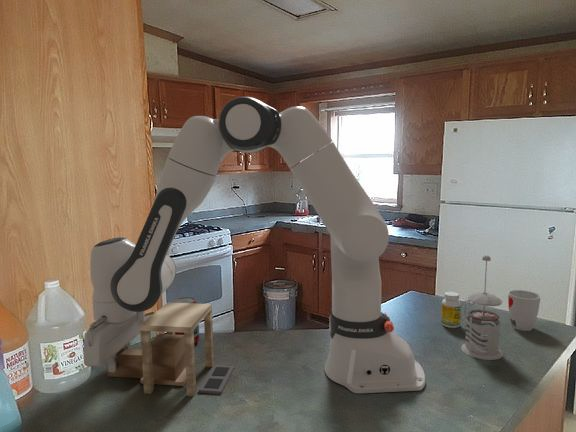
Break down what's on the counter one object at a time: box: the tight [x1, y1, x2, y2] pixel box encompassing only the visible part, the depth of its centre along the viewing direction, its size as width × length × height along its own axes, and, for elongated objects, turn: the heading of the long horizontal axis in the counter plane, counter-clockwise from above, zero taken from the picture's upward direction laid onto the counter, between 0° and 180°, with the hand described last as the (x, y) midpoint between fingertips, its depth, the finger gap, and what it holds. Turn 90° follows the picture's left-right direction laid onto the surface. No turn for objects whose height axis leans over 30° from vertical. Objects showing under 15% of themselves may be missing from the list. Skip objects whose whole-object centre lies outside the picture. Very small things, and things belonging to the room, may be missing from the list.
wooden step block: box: [106, 333, 186, 387], centre depth 95 cm, size 19×7×9 cm, turn 83°
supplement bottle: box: [440, 291, 462, 329], centre depth 123 cm, size 5×5×10 cm
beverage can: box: [174, 296, 200, 345], centre depth 112 cm, size 7×7×12 cm
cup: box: [507, 289, 541, 332], centre depth 120 cm, size 8×8×10 cm
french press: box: [460, 255, 504, 361], centre depth 106 cm, size 10×12×25 cm
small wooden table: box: [140, 302, 215, 397], centre depth 94 cm, size 11×14×15 cm
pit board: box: [198, 364, 235, 395], centre depth 94 cm, size 5×11×1 cm, turn 173°
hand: (118, 366), depth 96 cm, fingers closed on wooden step block, 3 cm apart
